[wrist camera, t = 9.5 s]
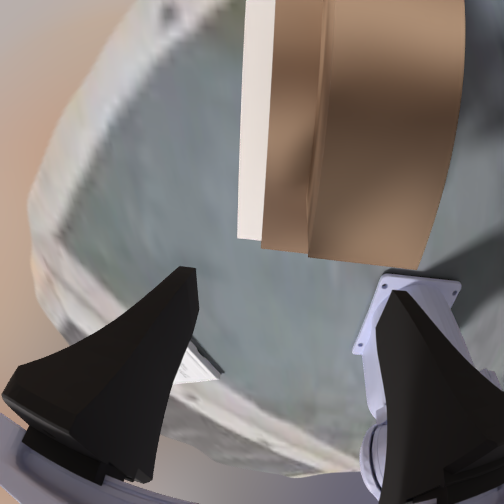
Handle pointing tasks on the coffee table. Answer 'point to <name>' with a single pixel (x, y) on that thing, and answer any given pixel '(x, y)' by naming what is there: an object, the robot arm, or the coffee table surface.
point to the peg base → (255, 115)
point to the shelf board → (361, 126)
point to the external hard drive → (195, 367)
